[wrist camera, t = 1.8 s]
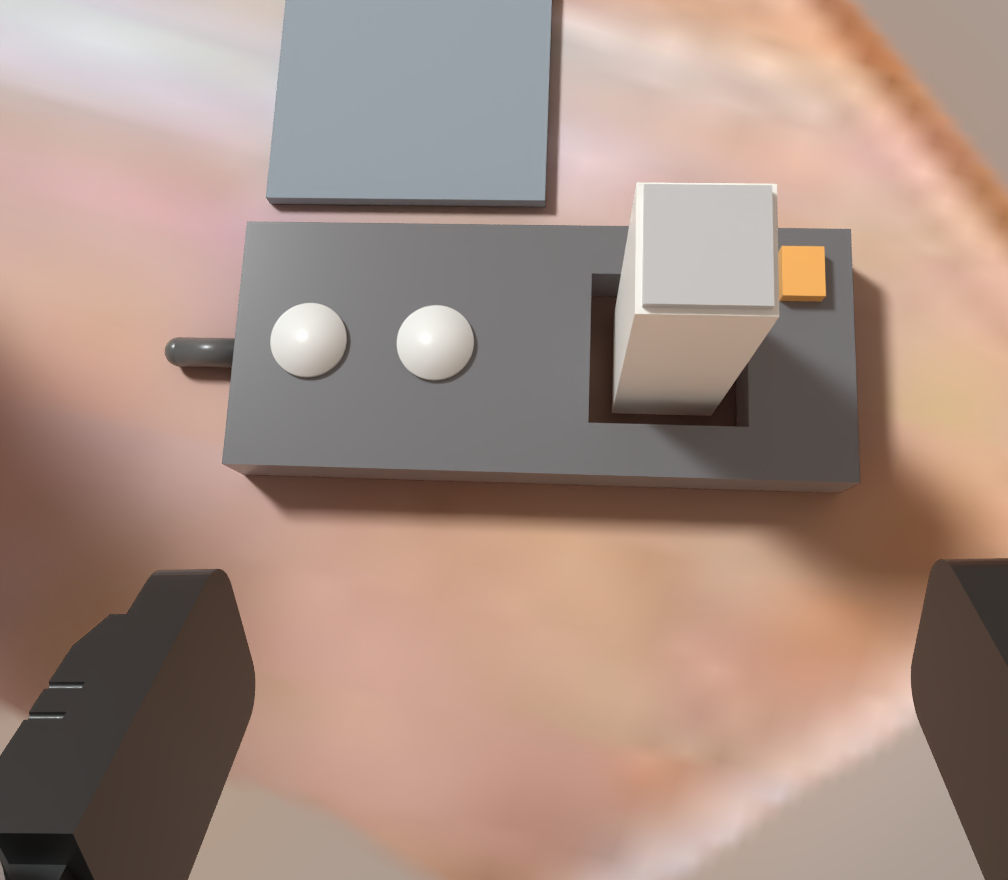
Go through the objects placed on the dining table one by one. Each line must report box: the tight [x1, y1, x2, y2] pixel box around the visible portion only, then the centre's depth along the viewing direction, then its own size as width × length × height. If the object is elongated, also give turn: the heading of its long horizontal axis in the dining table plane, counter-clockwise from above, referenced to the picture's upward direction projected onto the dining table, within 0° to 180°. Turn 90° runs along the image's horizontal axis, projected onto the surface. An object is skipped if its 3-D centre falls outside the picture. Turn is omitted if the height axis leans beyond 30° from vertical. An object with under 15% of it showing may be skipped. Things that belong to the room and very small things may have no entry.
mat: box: [266, 0, 552, 207], centre depth 41 cm, size 12×12×1 cm
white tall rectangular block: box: [612, 183, 779, 416], centre depth 32 cm, size 4×4×12 cm
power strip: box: [165, 222, 860, 493], centre depth 37 cm, size 28×10×3 cm, turn 88°
